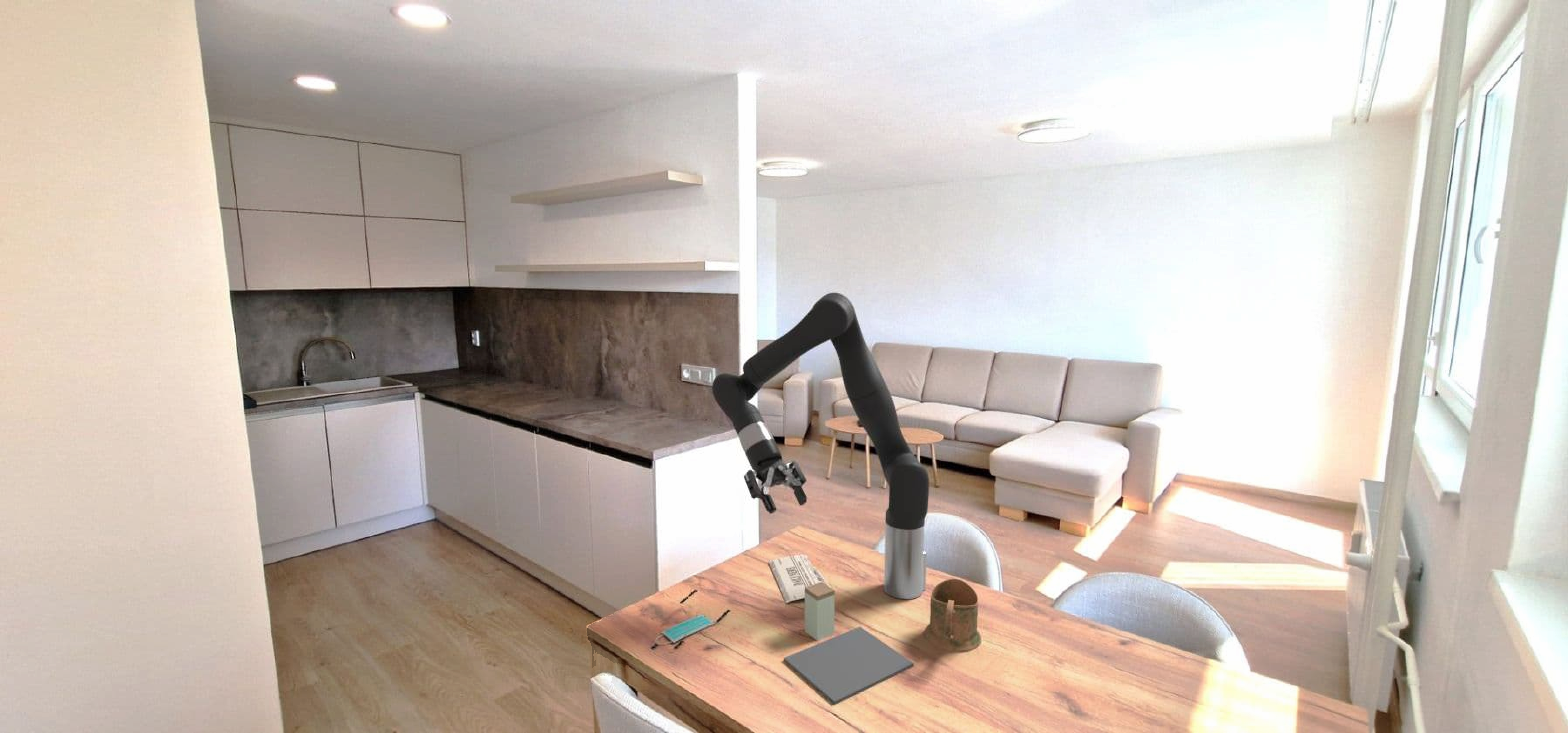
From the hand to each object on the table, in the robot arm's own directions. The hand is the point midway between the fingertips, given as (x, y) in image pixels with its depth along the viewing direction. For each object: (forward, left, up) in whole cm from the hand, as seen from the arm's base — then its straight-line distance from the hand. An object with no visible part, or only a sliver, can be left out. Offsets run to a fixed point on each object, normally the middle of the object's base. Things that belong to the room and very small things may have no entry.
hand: (789, 507), depth 144 cm
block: (0, +11, -25) cm, 27 cm away
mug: (-20, +30, -25) cm, 44 cm away
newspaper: (-11, -11, -26) cm, 30 cm away
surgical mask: (+22, -6, -25) cm, 34 cm away
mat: (+2, +23, -25) cm, 34 cm away
